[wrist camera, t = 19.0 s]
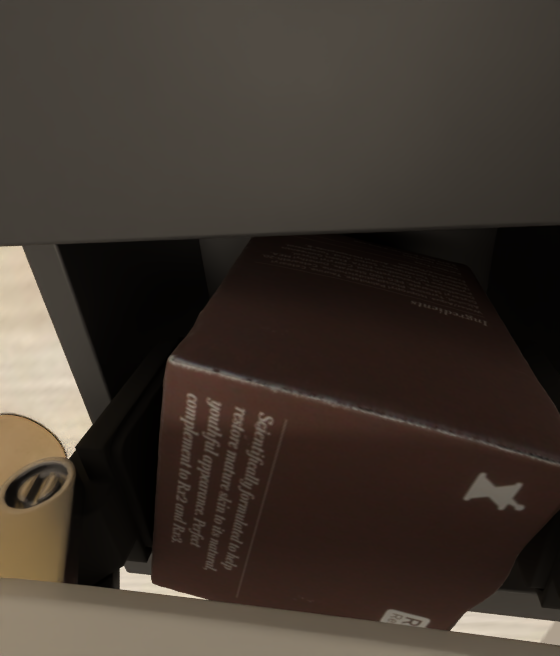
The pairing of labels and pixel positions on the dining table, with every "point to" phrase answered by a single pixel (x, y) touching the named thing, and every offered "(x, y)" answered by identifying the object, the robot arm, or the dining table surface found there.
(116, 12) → the cabinet
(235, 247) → the drawer
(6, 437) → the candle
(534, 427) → the box
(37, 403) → the dining table surface
